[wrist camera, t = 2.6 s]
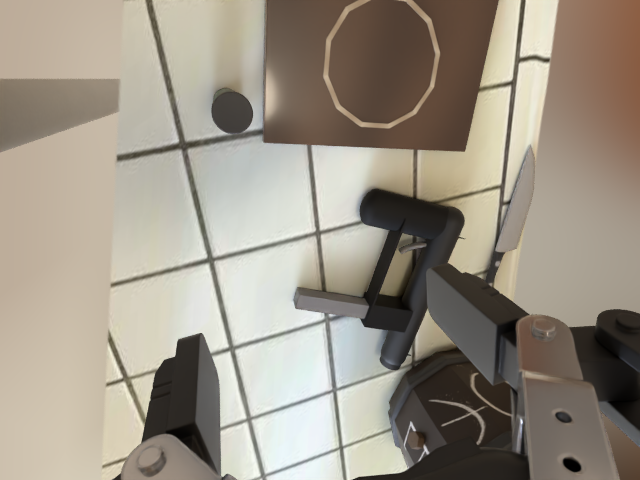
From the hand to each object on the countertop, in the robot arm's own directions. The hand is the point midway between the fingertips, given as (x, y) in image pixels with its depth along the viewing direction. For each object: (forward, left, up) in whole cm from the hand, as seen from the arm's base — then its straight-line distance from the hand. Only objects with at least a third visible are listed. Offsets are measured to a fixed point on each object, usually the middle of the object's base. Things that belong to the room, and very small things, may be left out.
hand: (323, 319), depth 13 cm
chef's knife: (+30, -6, -24) cm, 38 cm away
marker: (-2, +6, -23) cm, 24 cm away
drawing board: (+11, +10, -24) cm, 27 cm away
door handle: (+13, -12, -24) cm, 29 cm away
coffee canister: (+26, -31, -24) cm, 46 cm away
